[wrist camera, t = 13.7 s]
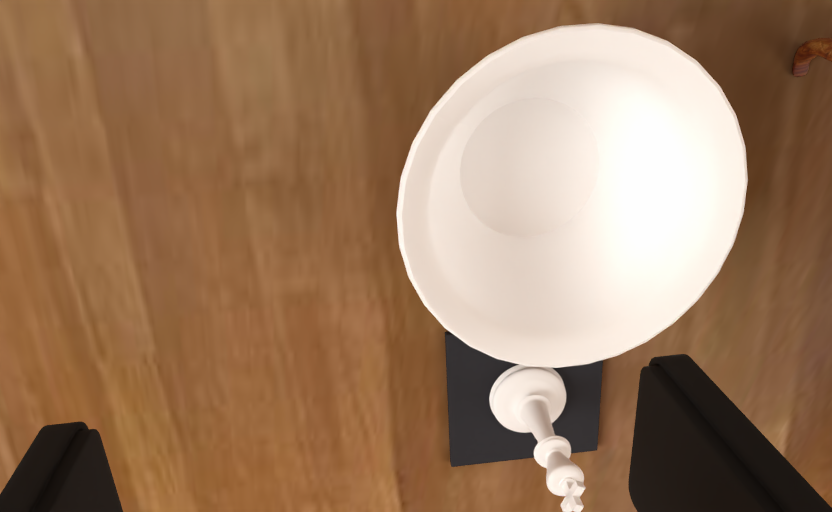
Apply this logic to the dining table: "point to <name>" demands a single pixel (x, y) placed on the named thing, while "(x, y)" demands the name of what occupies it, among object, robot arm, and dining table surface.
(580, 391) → the coaster
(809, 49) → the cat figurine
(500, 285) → the bowl
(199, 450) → the dining table surface
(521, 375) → the chess piece
